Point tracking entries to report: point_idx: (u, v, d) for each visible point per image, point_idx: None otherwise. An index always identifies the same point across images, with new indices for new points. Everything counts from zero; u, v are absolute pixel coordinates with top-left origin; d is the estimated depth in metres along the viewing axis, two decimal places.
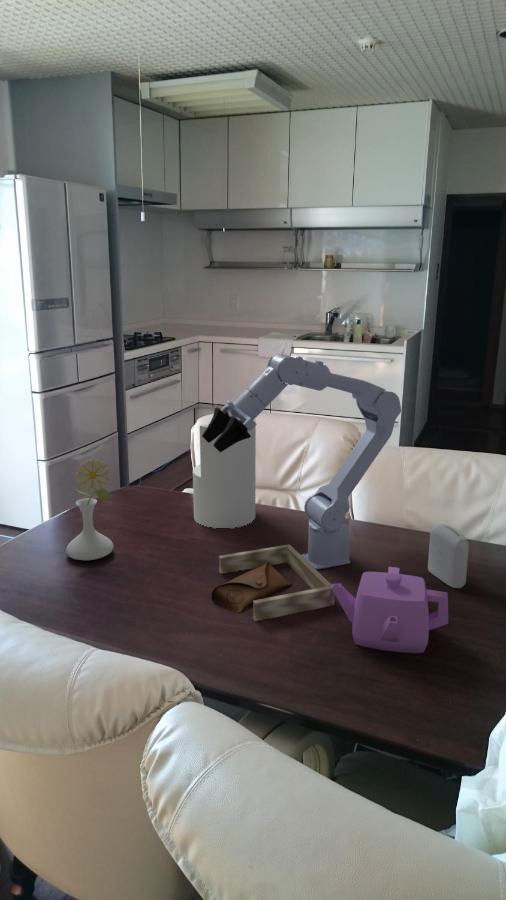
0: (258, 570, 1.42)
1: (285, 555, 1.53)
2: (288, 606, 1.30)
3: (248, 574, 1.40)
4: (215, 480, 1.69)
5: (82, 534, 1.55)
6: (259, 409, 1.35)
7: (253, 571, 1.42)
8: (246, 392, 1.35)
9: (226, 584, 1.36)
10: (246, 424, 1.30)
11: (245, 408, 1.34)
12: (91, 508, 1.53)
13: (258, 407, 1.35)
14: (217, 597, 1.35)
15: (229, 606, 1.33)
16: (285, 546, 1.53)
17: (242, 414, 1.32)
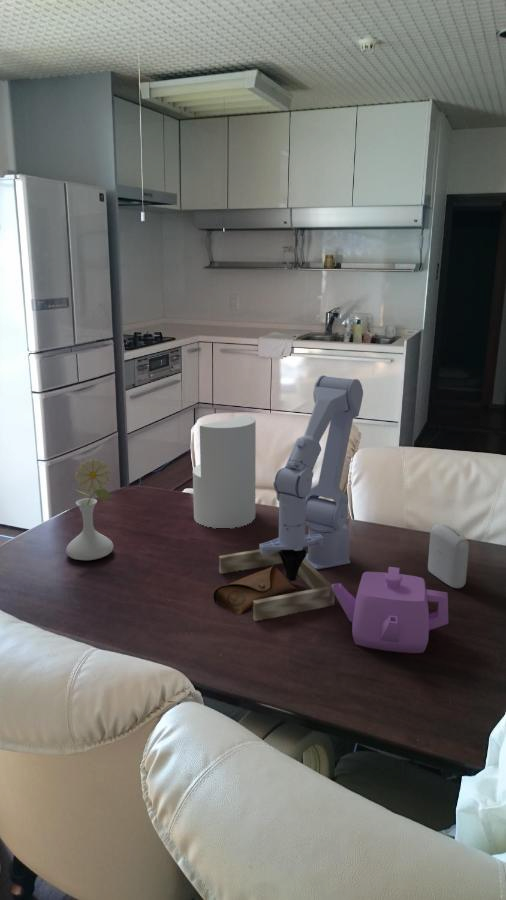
0: (263, 572, 1.41)
1: None
2: (288, 606, 1.30)
3: (252, 576, 1.39)
4: (215, 480, 1.69)
5: (82, 534, 1.55)
6: None
7: (258, 573, 1.41)
8: (299, 528, 1.37)
9: (228, 585, 1.35)
10: None
11: (305, 536, 1.40)
12: (91, 508, 1.53)
13: None
14: (218, 598, 1.35)
15: (230, 607, 1.33)
16: None
17: (313, 542, 1.40)
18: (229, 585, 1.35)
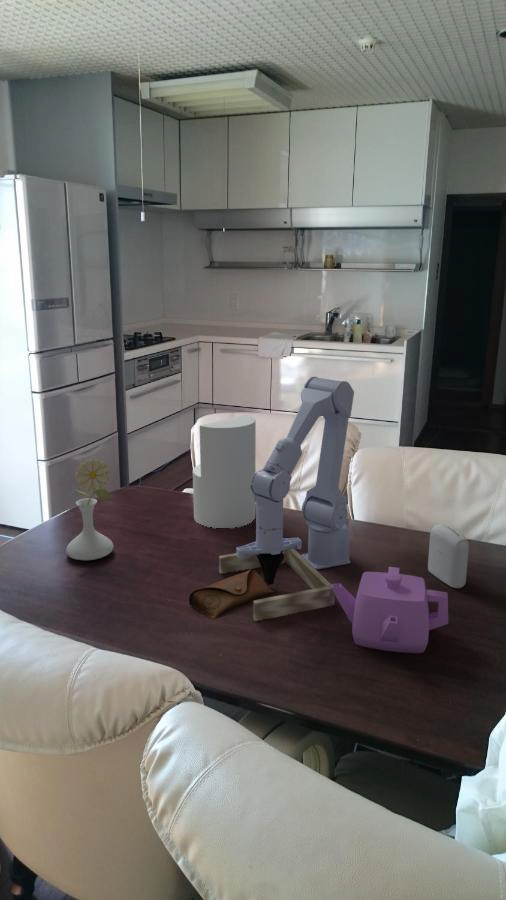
0: (240, 575, 1.40)
1: (285, 555, 1.53)
2: (288, 606, 1.30)
3: (229, 579, 1.38)
4: (215, 480, 1.69)
5: (82, 534, 1.55)
6: None
7: (235, 577, 1.39)
8: (277, 532, 1.35)
9: (204, 589, 1.34)
10: None
11: (282, 540, 1.38)
12: (91, 508, 1.53)
13: None
14: (194, 601, 1.33)
15: (204, 611, 1.31)
16: None
17: (291, 545, 1.39)
18: (205, 588, 1.34)
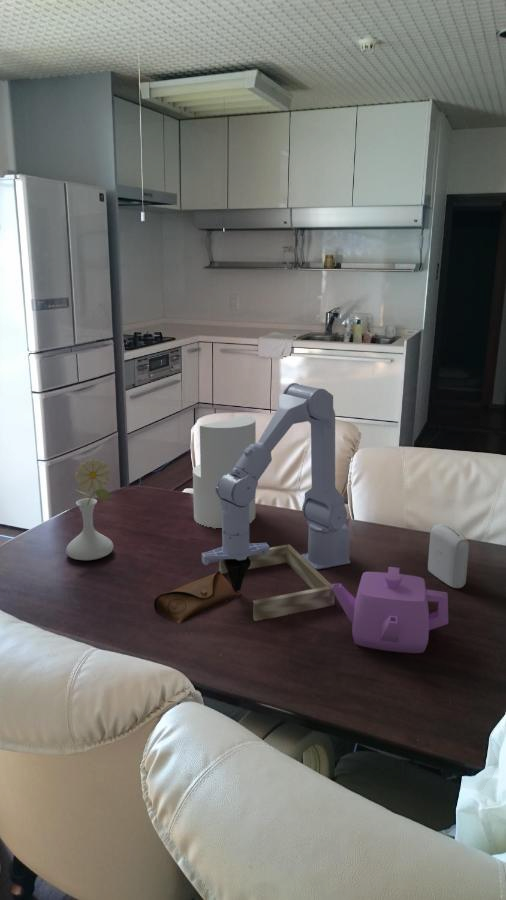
0: (206, 579, 1.38)
1: (285, 555, 1.53)
2: (288, 606, 1.30)
3: (194, 583, 1.36)
4: (215, 480, 1.69)
5: (82, 534, 1.55)
6: None
7: (200, 580, 1.38)
8: (242, 537, 1.32)
9: (169, 593, 1.32)
10: None
11: (249, 545, 1.35)
12: (91, 508, 1.53)
13: None
14: (159, 606, 1.31)
15: (170, 616, 1.29)
16: (285, 546, 1.53)
17: (258, 551, 1.36)
18: (170, 593, 1.32)
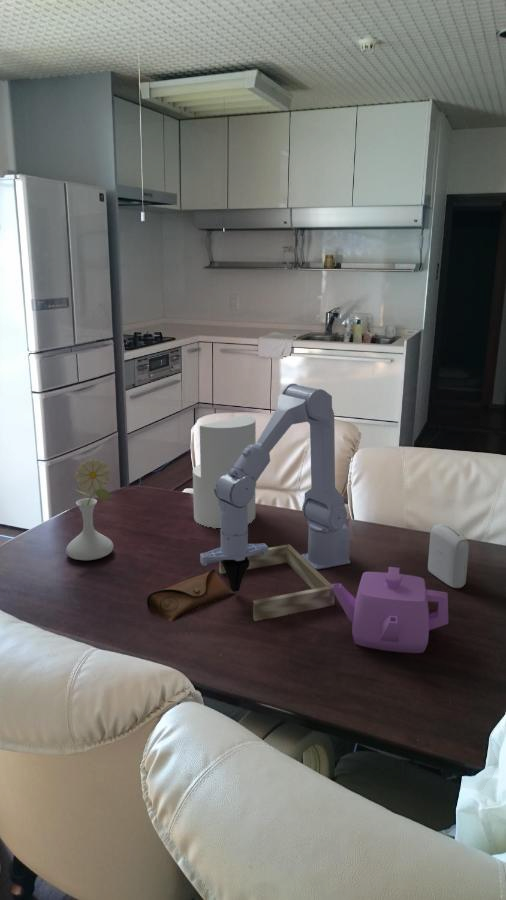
0: (199, 577, 1.39)
1: (285, 555, 1.53)
2: (288, 606, 1.30)
3: (188, 581, 1.37)
4: (215, 480, 1.69)
5: (82, 534, 1.55)
6: None
7: (194, 578, 1.38)
8: (241, 538, 1.32)
9: (162, 591, 1.33)
10: None
11: (247, 546, 1.35)
12: (91, 508, 1.53)
13: None
14: (151, 604, 1.32)
15: (162, 613, 1.30)
16: (285, 546, 1.53)
17: (256, 551, 1.36)
18: (163, 590, 1.33)
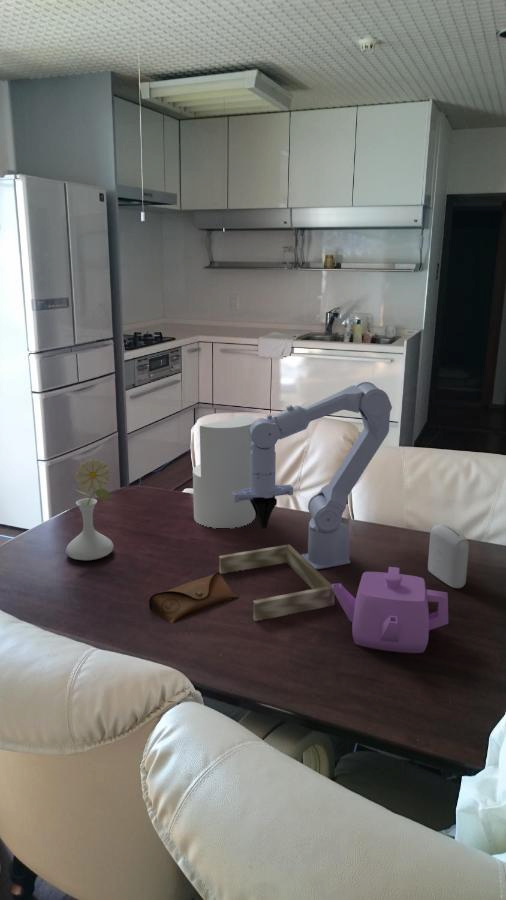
0: (203, 579, 1.38)
1: (285, 555, 1.53)
2: (288, 606, 1.30)
3: (191, 583, 1.36)
4: (215, 480, 1.69)
5: (82, 534, 1.55)
6: None
7: (197, 581, 1.37)
8: (269, 477, 1.45)
9: (164, 592, 1.32)
10: None
11: None
12: (91, 508, 1.53)
13: None
14: (153, 605, 1.32)
15: (163, 615, 1.30)
16: (285, 546, 1.53)
17: (283, 491, 1.48)
18: (165, 592, 1.32)
